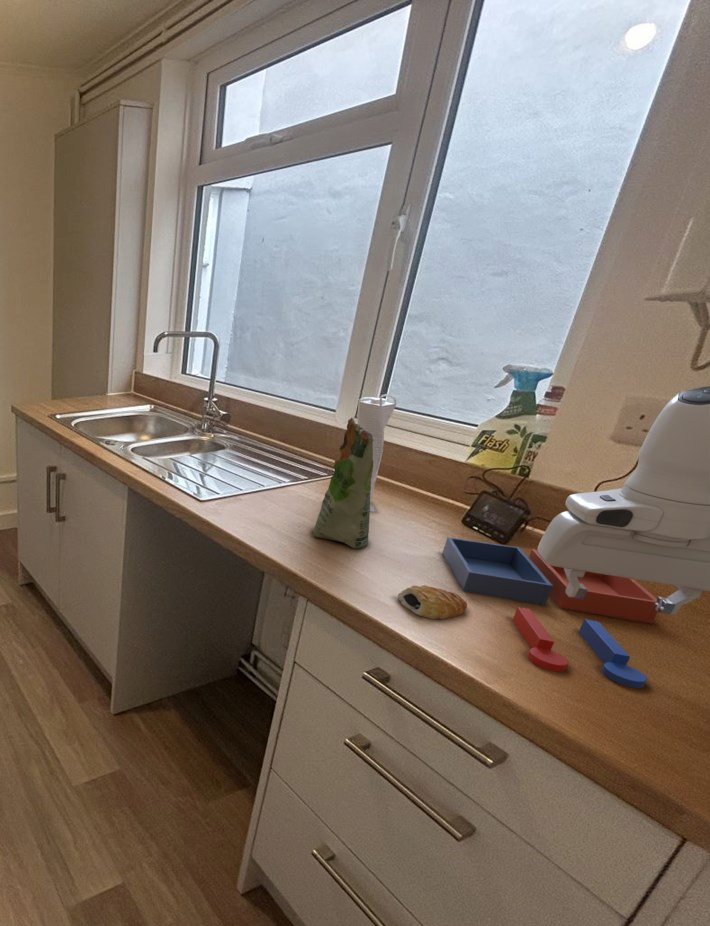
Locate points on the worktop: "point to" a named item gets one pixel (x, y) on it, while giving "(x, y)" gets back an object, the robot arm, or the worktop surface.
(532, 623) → the red spoon
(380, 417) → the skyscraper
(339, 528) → the pouch
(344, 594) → the worktop surface
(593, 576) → the red bin
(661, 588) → the worktop surface
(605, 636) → the blue spoon
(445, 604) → the pastry
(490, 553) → the blue bin
